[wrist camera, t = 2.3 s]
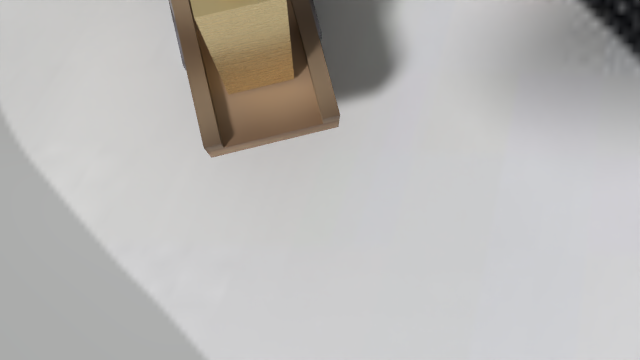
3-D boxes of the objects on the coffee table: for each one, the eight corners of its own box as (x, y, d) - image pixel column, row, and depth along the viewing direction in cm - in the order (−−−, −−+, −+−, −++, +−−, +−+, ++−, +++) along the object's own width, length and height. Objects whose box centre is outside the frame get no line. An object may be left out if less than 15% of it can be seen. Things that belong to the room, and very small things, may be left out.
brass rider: (294, 79, 35) (284, -18, 24) (228, 94, 35) (188, 4, 24) (278, 18, 36) (262, -104, 24) (214, 33, 35) (168, -83, 24)
